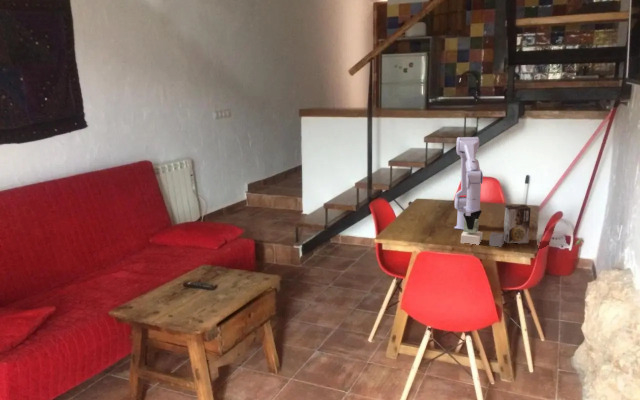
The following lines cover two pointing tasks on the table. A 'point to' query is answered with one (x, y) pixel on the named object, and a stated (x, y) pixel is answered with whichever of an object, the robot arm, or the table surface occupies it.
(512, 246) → the table surface
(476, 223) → the green cube
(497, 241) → the grey cube
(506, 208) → the coffee box
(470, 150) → the robot arm
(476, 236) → the cream base block
